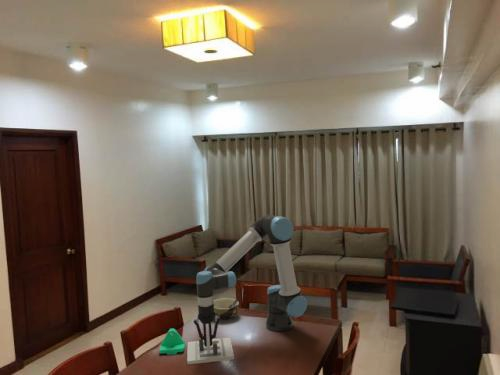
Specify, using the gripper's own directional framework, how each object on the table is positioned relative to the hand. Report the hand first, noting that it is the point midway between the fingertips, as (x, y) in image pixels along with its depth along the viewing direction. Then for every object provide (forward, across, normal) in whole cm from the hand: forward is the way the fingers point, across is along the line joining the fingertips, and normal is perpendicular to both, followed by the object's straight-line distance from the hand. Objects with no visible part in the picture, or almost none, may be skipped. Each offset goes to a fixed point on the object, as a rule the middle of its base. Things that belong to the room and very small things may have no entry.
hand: (208, 352), depth 202 cm
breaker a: (+1, +3, -14) cm, 14 cm away
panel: (+3, -1, -7) cm, 7 cm away
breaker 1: (+1, +3, -7) cm, 8 cm away
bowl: (+3, -12, -52) cm, 53 cm away
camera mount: (+3, +18, -13) cm, 22 cm away
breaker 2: (+1, -3, 0) cm, 3 cm away
